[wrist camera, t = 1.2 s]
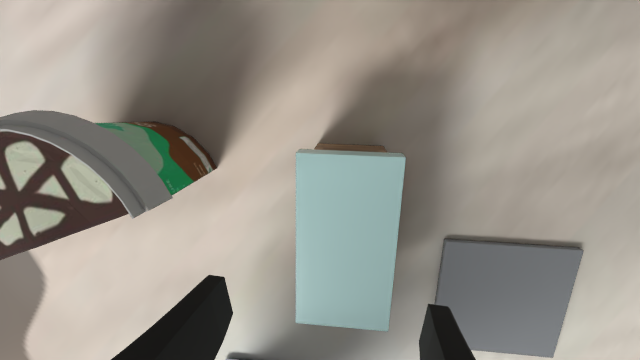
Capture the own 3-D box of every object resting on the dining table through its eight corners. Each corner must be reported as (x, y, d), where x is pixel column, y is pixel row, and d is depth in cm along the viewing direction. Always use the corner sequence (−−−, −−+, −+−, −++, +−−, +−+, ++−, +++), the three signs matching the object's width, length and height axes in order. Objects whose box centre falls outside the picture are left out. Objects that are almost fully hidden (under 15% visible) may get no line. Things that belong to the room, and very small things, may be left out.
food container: (197, 77, 21) (62, 62, 11) (235, 161, 22) (144, 214, 12) (55, 139, 23) (-157, 172, 13) (98, 212, 24) (-68, 290, 15)
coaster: (549, 353, 24) (552, 357, 23) (429, 342, 24) (430, 346, 24) (579, 247, 21) (583, 250, 21) (444, 239, 22) (445, 241, 22)
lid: (385, 317, 20) (388, 331, 18) (298, 309, 20) (295, 323, 19) (402, 153, 17) (405, 157, 16) (299, 148, 17) (295, 152, 16)
